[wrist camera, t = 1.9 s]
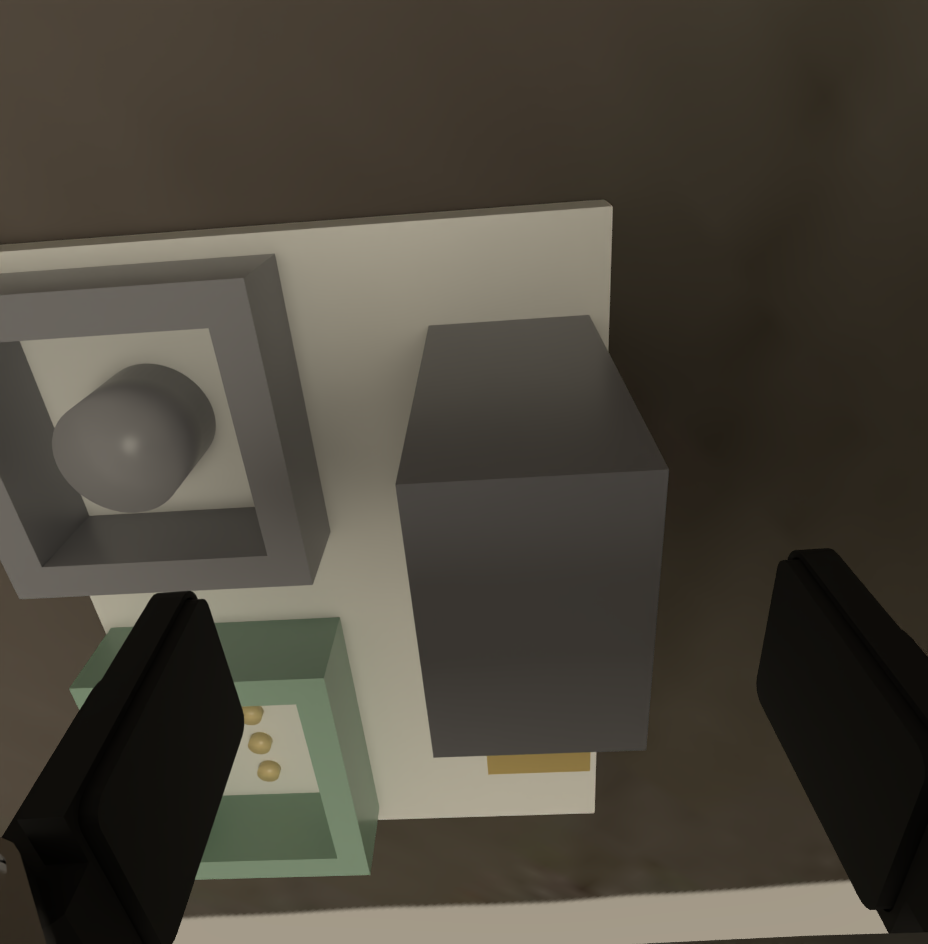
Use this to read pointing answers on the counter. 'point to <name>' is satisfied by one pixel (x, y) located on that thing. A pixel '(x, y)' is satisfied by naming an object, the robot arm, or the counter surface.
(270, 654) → the green rectangular frame
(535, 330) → the plug
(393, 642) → the board
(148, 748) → the robot arm
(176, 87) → the counter surface
